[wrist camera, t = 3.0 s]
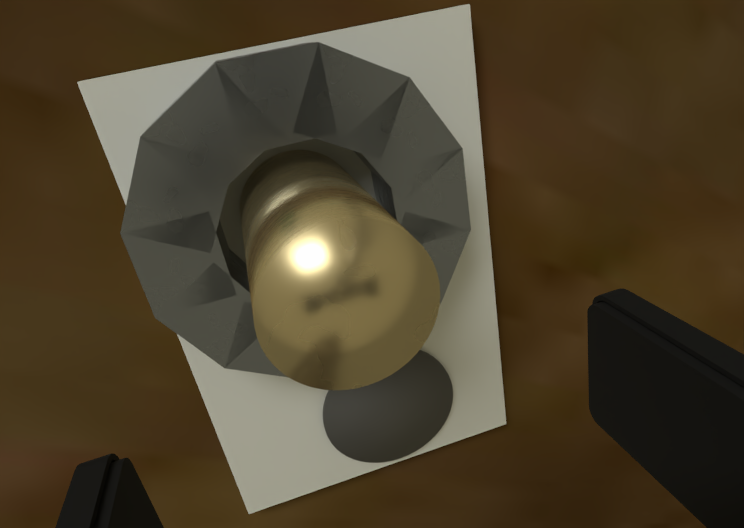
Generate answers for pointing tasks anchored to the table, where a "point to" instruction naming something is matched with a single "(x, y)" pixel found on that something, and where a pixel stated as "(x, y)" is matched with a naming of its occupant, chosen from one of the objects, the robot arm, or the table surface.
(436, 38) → the base plate
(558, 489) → the table surface
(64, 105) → the table surface
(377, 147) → the ring
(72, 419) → the table surface
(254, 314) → the brass round-ended cylinder
